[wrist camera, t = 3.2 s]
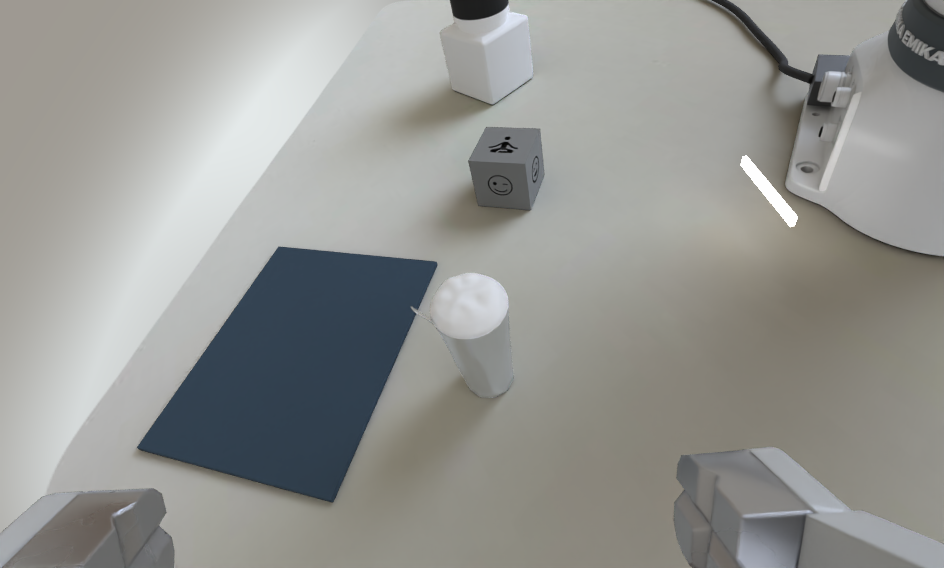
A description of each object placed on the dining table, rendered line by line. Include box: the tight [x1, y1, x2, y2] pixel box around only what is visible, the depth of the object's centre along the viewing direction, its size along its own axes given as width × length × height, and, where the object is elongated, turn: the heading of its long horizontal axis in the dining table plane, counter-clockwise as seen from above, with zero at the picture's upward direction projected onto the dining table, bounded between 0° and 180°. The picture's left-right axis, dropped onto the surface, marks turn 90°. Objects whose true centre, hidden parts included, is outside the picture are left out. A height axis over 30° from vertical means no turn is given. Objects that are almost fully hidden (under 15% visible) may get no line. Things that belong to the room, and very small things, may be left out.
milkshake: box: [411, 273, 514, 398], centre depth 32 cm, size 4×5×10 cm
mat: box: [137, 247, 437, 502], centre depth 41 cm, size 20×16×1 cm
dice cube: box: [468, 127, 544, 210], centre depth 47 cm, size 5×5×5 cm
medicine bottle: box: [440, 0, 533, 105], centre depth 58 cm, size 7×7×12 cm
